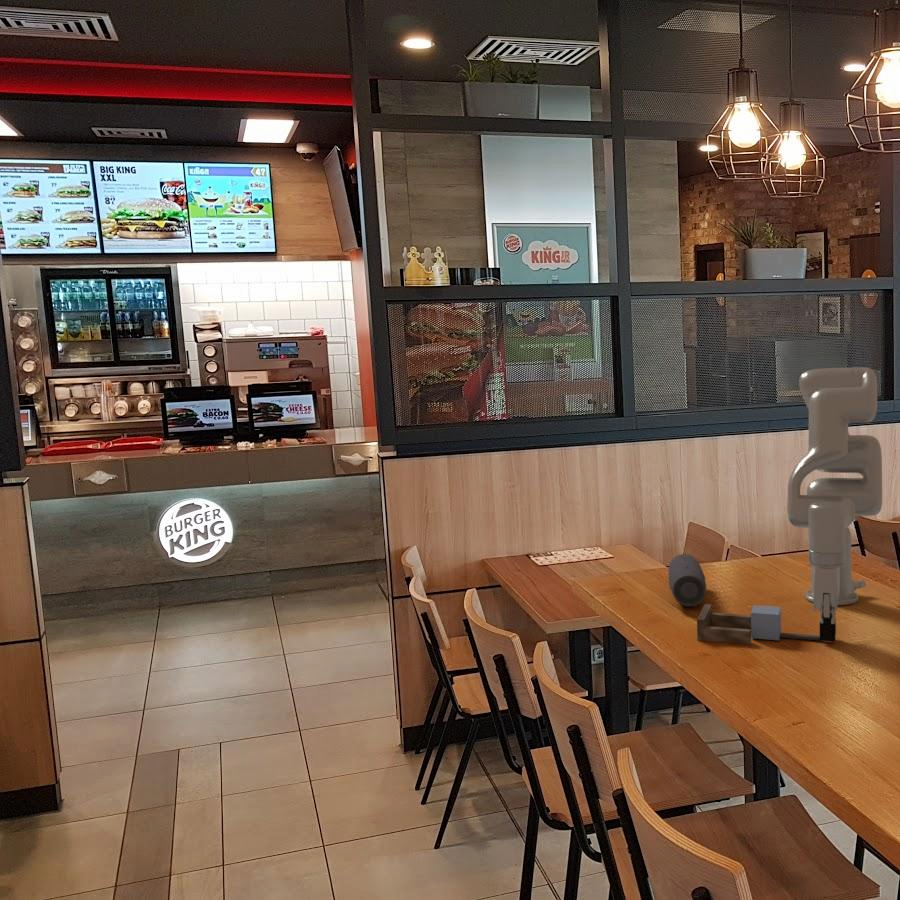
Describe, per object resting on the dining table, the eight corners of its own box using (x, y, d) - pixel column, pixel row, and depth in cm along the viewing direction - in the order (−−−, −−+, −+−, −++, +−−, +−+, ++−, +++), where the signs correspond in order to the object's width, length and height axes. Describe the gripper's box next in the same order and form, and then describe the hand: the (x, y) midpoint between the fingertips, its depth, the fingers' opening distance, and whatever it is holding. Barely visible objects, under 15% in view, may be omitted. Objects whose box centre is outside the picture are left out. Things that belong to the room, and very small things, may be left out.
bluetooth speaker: (709, 611, 226) (708, 573, 224) (671, 611, 227) (670, 573, 226) (702, 586, 248) (701, 551, 247) (667, 586, 250) (666, 552, 248)
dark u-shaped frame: (755, 627, 211) (755, 607, 210) (750, 644, 200) (749, 623, 199) (705, 624, 216) (704, 604, 215) (697, 640, 205) (696, 619, 204)
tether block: (835, 636, 201) (835, 606, 200) (835, 645, 196) (834, 614, 195) (754, 629, 208) (753, 601, 208) (751, 638, 203) (750, 608, 202)
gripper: (810, 548, 206) (811, 625, 208) (806, 566, 191) (807, 648, 193) (845, 549, 203) (846, 627, 205) (845, 567, 188) (845, 651, 190)
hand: (827, 636), depth 199 cm, fingers closed on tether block, 3 cm apart
